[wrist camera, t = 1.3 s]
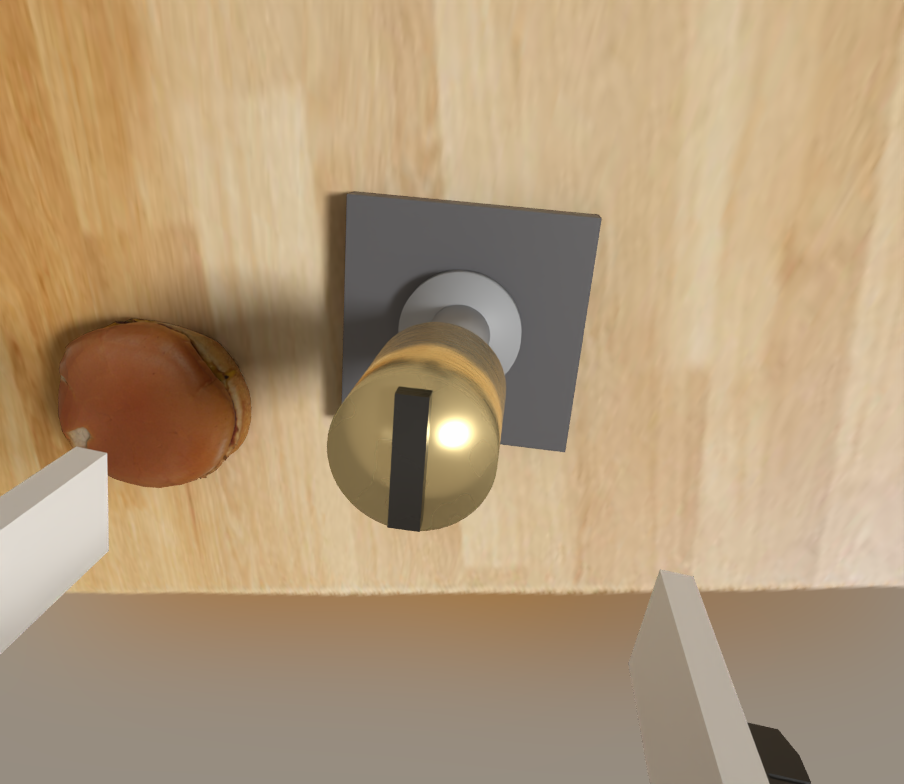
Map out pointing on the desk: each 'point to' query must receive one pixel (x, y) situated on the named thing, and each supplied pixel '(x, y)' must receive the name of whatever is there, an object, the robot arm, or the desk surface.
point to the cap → (421, 429)
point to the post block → (476, 294)
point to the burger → (153, 401)
